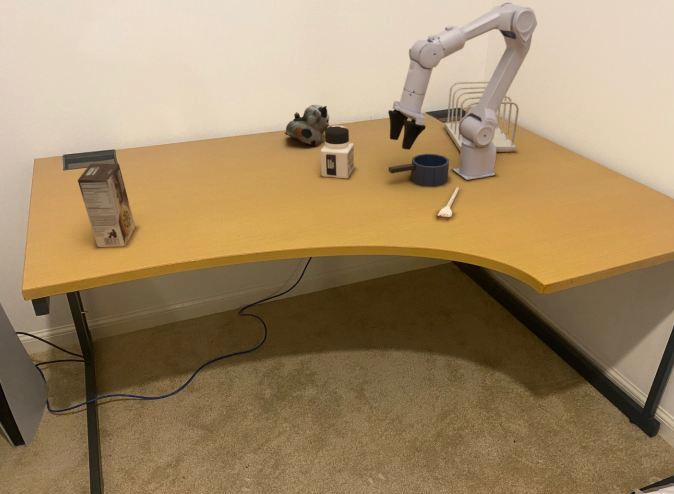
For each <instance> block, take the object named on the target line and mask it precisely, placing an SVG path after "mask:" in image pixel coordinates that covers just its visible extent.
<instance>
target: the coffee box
mask: <svg viewBox="0 0 674 494" xmlns="http://www.w3.org/2000/svg"><path fill="white" fill-rule="evenodd" d="M123 177H124V176H123V174H122V171H121V167H120V163H90V164H89V165H88V166H87V167H86V169H85V170H84V171H83V172H82V174H81V175H80V176H79V178H78V179H77V183H78V187H79V190H80V193H81V197H82V199H83V203H84V206H85V210H86V213H87V216H88V220H89V224H90V227H91V231H92V233H93V237H94V240H95V245H96V247H97V248H111V247H112V248H115V247H117V248H118V247H126V245H127V244H128V242H129V240H130V239H131V236H132V234H133V233H134V231H135V229H136V224H135V221H134V217H133V214H132V209H131V206H130V202H129V197H128V193H127V189H126V185H125V181H124V178H123Z"/></svg>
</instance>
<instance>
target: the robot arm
mask: <svg viewBox="0 0 674 494" xmlns="http://www.w3.org/2000/svg"><path fill="white" fill-rule="evenodd" d="M537 26H538V20H537V17H536V13H535V11H534V10H533V8H531V7H529V6H522V5H518V4H517V5H516V4H513V3H512V2H504V3H502V4H500V5H496V6H494V7H493V8H491V10H490V11H487V12H486V13H484V14H482V15H481V16H479V17H477V18H475V19H473V20H472V21H470V22H468V23H467V24H464V25H463V26H461V27H459V26H458V25H450V24H448V25H446V26H445V27H444V30H442V31H441V32H439V33H436V34H434V35H433V34H431V35H428V36H427V40H426V39H418V40H417V41H415V42H414V43H413V45H412V46H411V48H409V49H408V57H409V60H410V61H409V67H408V70H407V74H406V77H405V81H404V85H403V88H402V92H401V97H400V100H399V101H397V100H393V104H392V109H393V110H391V109H389V110H388V116H389V139H390V140H392V141H398V140H399V138H400V136H401V133H402V131H403V138H402V142H401V143H402V144H401V149H403V150H411V149H412V147H413V145H414V144H415V142H416V140H417V138H418V137H419V136H420V135H421V134H422V132H423V131H425V129H426V125H425V122H426V119H427V118H426V117H425V116H424V115H423V113H422V107H423V104H424V100H425V97H426V94H427V90H428V87H429V84H430V80H431V76H432V74H433V70H434V68H436V67H438V66H439V64H440V62H441V60H443V59H445V58H447V57H449V56H451V55H453V54H455V53H457V52H458V51H461V50H463V49H464V47H465V45H466V42H468V41H470V40H472V39H475V38H477V37H479V36H482V35H484V34H486V33H489V32H491V31H493V30H498V31H499V32H500V34H501V36H502V37H503V39H504V42H505V47H506V48H505V50H504V52H503V54H502V55H501V57H500V60H499V62H498V64H497V66H496V67H495V70H494V72H493V73H492V75H491V77H490V79H489V80H488V81H489V83H487V85H486V86H487V87H486V89H484V90H483V91H484V93H482V95H481V96H482V97H481V99H479V101H478V102H479V103H478V104H475V105H474V106H471V107H469V109H468V113H467V114H466V113H465V115H466V116H465V115H464V116H462V119H461V121H460V120H459V122H460V123H459V122H458V123H459V126H458V130H459V133H460V134H461V135H462V144H461V152H460V154H459V155H460V156H459V165H458V167H455V168H452V171H453V172H455V173H456V174H457V175H459V176H460V177H462V178H463V179H464V180H466V181H471V180H476V179H482V178H487V177H493V176H496V173H495V168H496V167H495V166H496V158H497V152H496V147H495V145H494V143H493V142H492V140H493V138H494V133H495V128H496V126H497V124H498V125H499V123H498V122H497V113H498V108H499V106H500V105H502V104H501V103H502V102H504V100H505V95H506V96H507V93H508V91H509V89H510V87H511V86H512V84H513V82H514V80H515V77H517V74H518V72H519V70H520V69H521V66H522V65H523V63H524V61H525V59H526V57H527V55H528V54H529V52H530V49H531V43H532V39H533V33H534V31H536V30H535V29H536V28H537ZM408 119H410V120H408ZM403 128H404V129H403Z"/></svg>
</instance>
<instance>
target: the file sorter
mask: <svg viewBox="0 0 674 494" xmlns="http://www.w3.org/2000/svg"><path fill="white" fill-rule="evenodd" d="M489 81H490V80H488V81H487V80H486V81H485V80H484V81H483V80H482V81H480V80H479V81H456V82H453V84H451V86H450V88H449V94H448V95H449V97H448V106H447V107H448V109H447V121H446V122H444V129H445V130H446V132H447V133H448V135H449V137H450V139H451V140H452V141H453V143H454V144H455V146H456V148H457V150H458V151H459V152H460V153H461V144H462V135H461V134H460V133H459V130H458V126H459V123H460V121H461V119H462V118H463V107H464V104H465V103H466V101H469V100H478V99H479V100H480V99H481V97H482V95H480V96H479V95H477V96H468V97H465V98H464V99H463V100H462V102H461V103H460V110H459V100H460V98H461V97H462V96H463V95H471V94H472V95H473V94H483V93H484V91H485V89H486V87H487V85H485V86H461V87H457V88H456V89H455V90H454V91H453V88H454V87H455V86H456V85H465V84H466V85H467V84H469V85H470V84H473V85H474V84H488V83H489ZM479 89H480V90H479ZM481 89H483V90H481ZM461 90H471V91H462V92H461V93H459V94H458V95H457V92H458V91H461ZM472 90H473V91H472ZM475 90H476V91H475ZM452 91H453V94H452ZM456 95H457V98H456ZM455 98H456V102H455ZM507 99H508V101H507ZM478 103H479V101H473V102H471V103H469V104H468V105H467V107H466V109H465V115H464V116H466V114H467V113H468V111H469V109H470V108H471V107H473V105H474V106H475V105H477V104H478ZM501 105H503V112H502V122H501V128H500V127H499V122H500V113H501V107H502V106H501ZM501 105H500V106H499V108H498V110H497V115H496V117H497V122H498V124H497V126H496V128H495V133H494V138H493V140H492V142H493V143H494V145H495V147H496V153H501V152H502V153H504V152H505V153H506V152H507V153H508V152H511V153H513V152H516V150H517V145H516V144H514V143H515V137H516V132H517V125H518V118H519V111H520V109H519V105H518V104H517V103H516V102H514V101H513V100H512V99H511V97H510V96H509V95H507V94H506V95H505V97H504V100H503V101H502V103H501ZM507 105H509V109H508V118H507V127H506V134H505V133H504V126H505V118H506V110H507ZM513 105H514V106H515V108H516V111H515V117H514V125H513V133H512V137H511V138H512V139H510V138H509V134H510V126H511V124H510V123H511V118H512V117H511V116H512V110H513V109H512V108H513ZM454 107H455V108H454ZM454 111H455V112H454ZM458 111H459V122H458ZM454 113H455V115H454ZM450 116H451V119H450ZM454 117H455V118H454Z"/></svg>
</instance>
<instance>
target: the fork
mask: <svg viewBox="0 0 674 494" xmlns="http://www.w3.org/2000/svg"><path fill="white" fill-rule="evenodd" d="M459 191H460V187H459V186H456V187H455V190H454V191H453V193H452V195H451V197H450V199H449V200H448V202H447V203H446V206H444V207H442V208H441V209H440V210H439V212H438V214H436V216H438V217H445V218H451V217H452V216H453V211H452V209H451V207H452V205H453V203H454V201H455V199H456V197H457V195H458V193H459Z"/></svg>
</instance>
